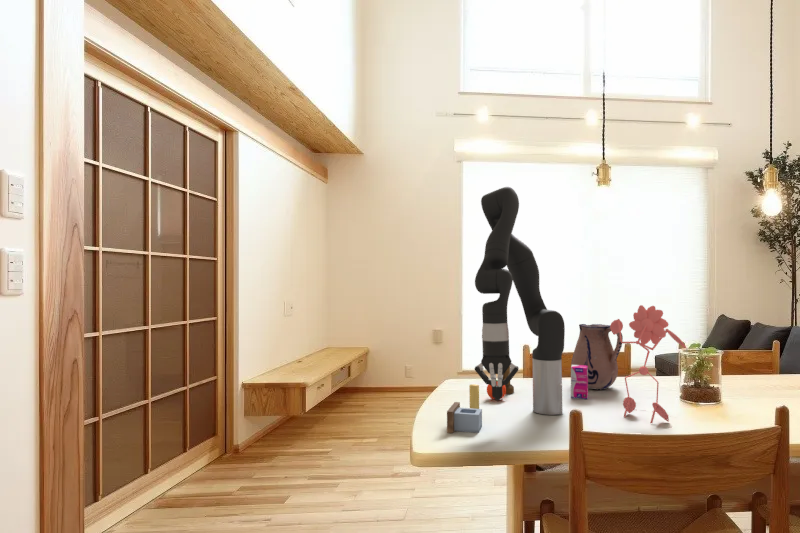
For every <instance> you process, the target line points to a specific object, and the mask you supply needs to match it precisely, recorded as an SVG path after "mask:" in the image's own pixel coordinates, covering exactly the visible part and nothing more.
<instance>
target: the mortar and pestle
mask: <svg viewBox="0 0 800 533" xmlns="http://www.w3.org/2000/svg"><path fill="white" fill-rule="evenodd" d="M509 374H510V366H509V367H508V369H507V370H506V372H505V373H504V374H503V380H505V379H506V377H507V376H508V375H509ZM505 387H506V394H505V395H507V394H509V395H511V394H514V393H515V387H514V386H513V384H512V383H511V381H510V382H509V383H508V384H507V385H505Z"/></svg>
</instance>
